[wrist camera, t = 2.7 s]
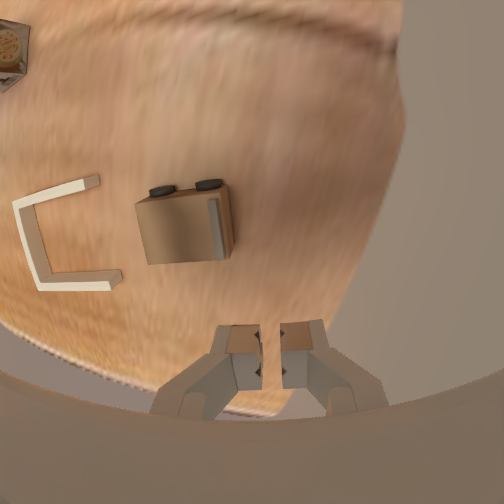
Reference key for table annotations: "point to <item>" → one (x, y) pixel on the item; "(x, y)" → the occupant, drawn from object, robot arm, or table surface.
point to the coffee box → (12, 52)
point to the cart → (186, 223)
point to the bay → (37, 252)
